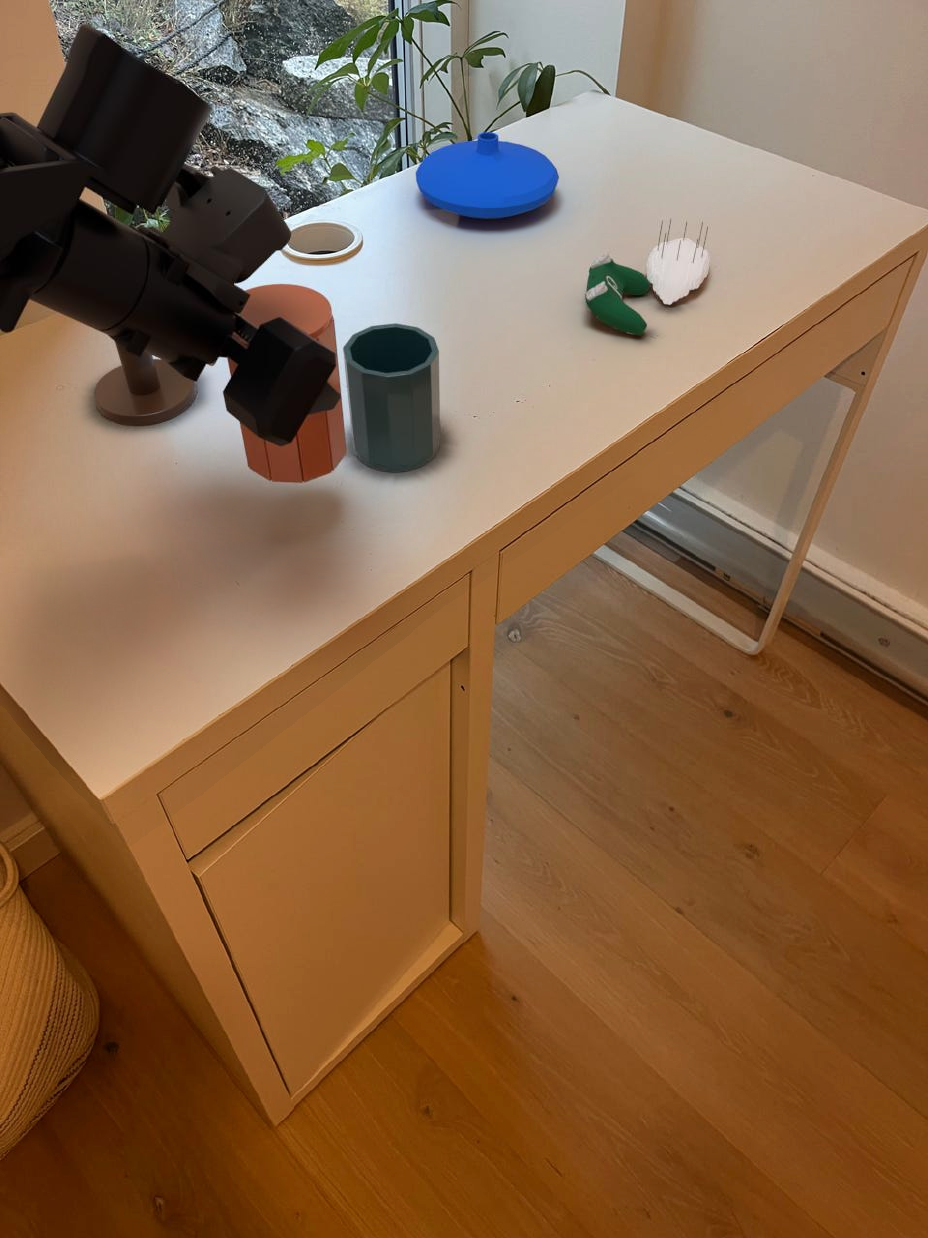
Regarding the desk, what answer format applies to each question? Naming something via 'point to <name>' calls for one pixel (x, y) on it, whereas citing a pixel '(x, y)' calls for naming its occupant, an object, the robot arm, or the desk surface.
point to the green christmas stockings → (615, 294)
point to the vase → (487, 178)
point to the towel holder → (143, 390)
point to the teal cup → (393, 396)
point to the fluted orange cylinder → (320, 432)
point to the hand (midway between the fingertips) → (303, 377)
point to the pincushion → (677, 267)
